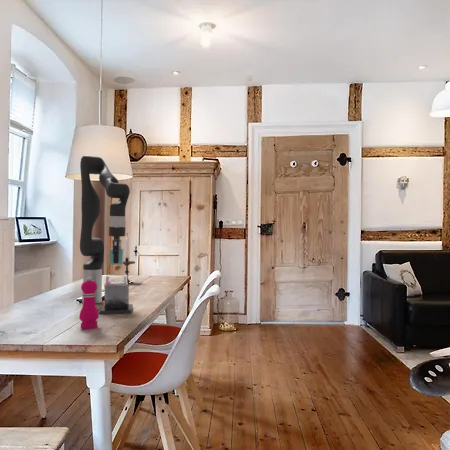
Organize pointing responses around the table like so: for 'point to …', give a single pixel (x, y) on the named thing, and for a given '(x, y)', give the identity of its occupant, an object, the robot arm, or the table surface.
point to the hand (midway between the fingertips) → (116, 262)
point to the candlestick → (127, 258)
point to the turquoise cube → (119, 257)
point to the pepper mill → (89, 305)
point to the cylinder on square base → (116, 297)
